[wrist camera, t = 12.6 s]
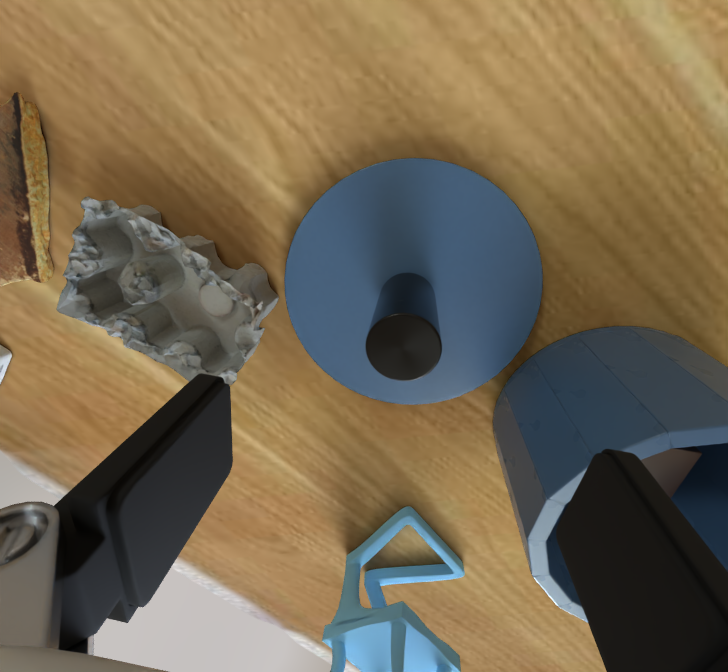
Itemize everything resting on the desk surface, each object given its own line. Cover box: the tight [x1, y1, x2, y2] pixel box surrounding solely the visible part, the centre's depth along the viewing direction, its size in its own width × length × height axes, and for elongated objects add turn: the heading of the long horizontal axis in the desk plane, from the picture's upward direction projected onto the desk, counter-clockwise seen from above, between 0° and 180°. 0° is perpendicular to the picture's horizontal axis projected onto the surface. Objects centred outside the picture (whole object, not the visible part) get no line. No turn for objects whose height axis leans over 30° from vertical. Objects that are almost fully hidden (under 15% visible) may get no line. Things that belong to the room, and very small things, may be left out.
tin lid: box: [285, 158, 543, 404], centre depth 17 cm, size 14×14×7 cm
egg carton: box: [57, 197, 279, 385], centre depth 20 cm, size 11×8×4 cm
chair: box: [322, 506, 465, 672], centre depth 24 cm, size 8×8×12 cm
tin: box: [493, 326, 728, 622], centre depth 18 cm, size 13×13×8 cm
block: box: [641, 446, 702, 499], centre depth 20 cm, size 4×4×4 cm
